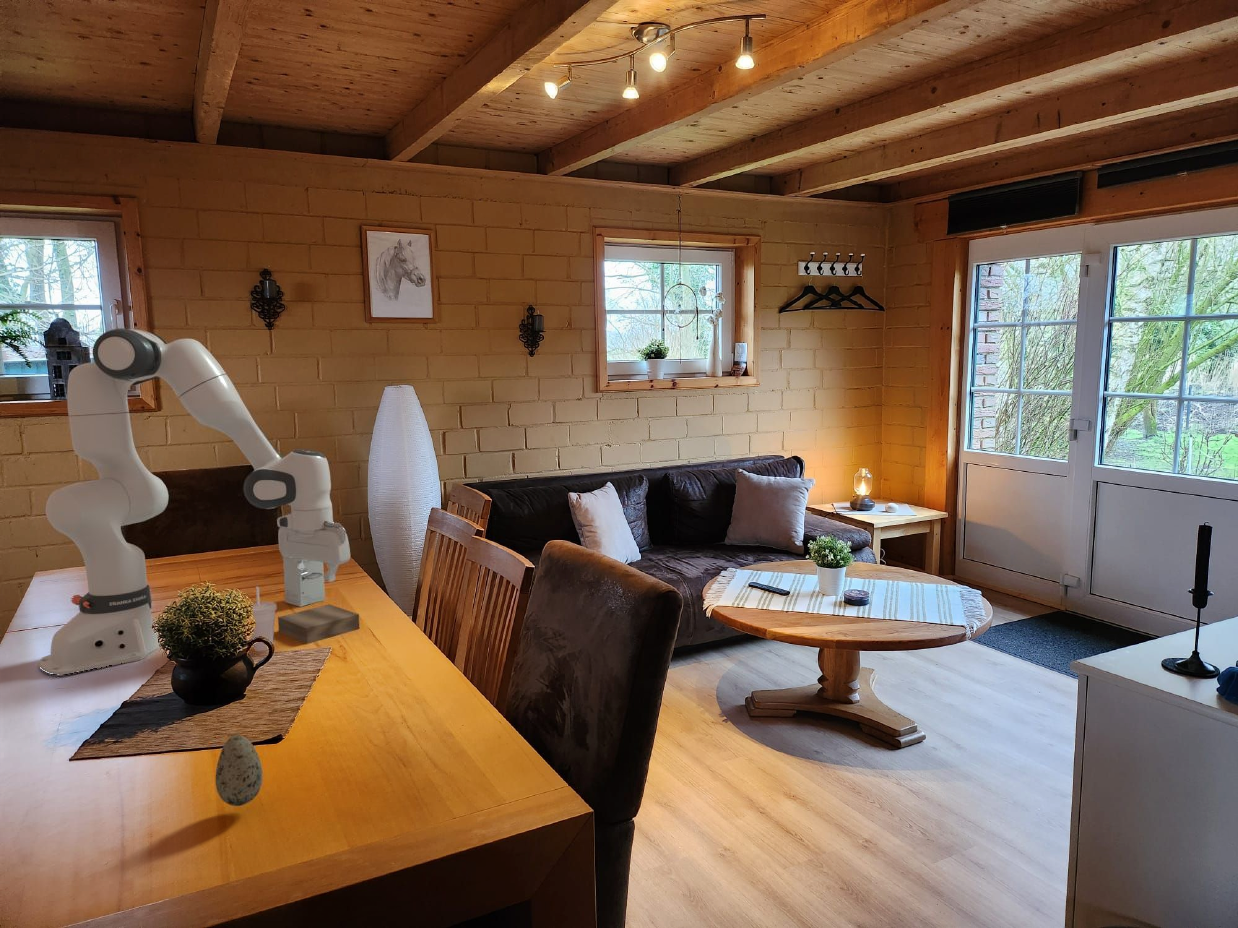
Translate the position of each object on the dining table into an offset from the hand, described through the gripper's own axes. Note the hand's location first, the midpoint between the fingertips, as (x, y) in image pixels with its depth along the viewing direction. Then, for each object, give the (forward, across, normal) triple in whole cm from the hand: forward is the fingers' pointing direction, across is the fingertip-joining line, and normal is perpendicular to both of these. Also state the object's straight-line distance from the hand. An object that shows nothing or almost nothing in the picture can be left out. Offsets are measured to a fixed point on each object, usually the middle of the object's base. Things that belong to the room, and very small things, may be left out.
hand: (316, 578), depth 186 cm
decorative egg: (+13, -52, +57) cm, 78 cm away
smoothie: (+13, +1, +14) cm, 19 cm away
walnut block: (+13, 0, 0) cm, 13 cm away
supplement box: (+13, +23, -15) cm, 30 cm away
